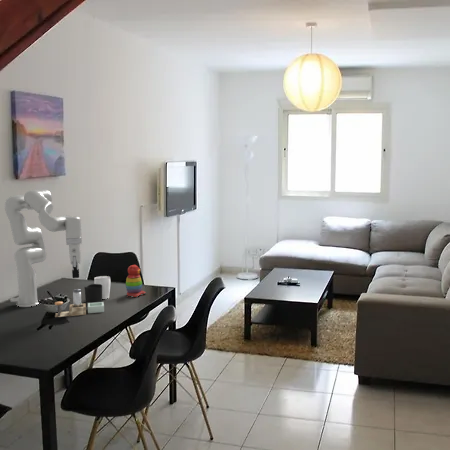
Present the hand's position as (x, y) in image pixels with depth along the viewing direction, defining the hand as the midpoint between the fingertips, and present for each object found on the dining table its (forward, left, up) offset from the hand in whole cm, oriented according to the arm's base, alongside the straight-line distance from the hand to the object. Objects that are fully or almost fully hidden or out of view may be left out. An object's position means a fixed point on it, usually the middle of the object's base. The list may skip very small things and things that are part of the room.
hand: (75, 277), depth 281 cm
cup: (+13, +31, -20) cm, 39 cm away
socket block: (-3, 0, -19) cm, 20 cm away
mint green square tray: (+9, +2, -19) cm, 21 cm away
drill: (0, 0, -19) cm, 19 cm away
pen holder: (+8, +20, -20) cm, 29 cm away
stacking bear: (+31, +33, -20) cm, 50 cm away
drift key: (-9, 0, -17) cm, 19 cm away
